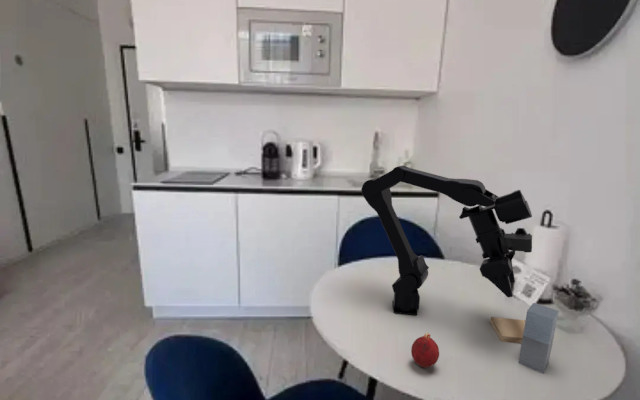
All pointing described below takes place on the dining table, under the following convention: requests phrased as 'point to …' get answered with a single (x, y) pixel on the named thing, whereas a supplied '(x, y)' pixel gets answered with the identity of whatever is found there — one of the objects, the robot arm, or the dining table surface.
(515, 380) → the dining table surface
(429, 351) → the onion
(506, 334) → the cork pad
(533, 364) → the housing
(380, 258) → the dining table surface
